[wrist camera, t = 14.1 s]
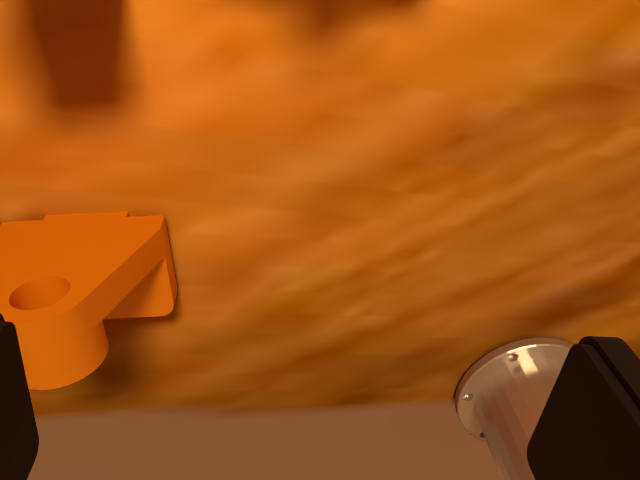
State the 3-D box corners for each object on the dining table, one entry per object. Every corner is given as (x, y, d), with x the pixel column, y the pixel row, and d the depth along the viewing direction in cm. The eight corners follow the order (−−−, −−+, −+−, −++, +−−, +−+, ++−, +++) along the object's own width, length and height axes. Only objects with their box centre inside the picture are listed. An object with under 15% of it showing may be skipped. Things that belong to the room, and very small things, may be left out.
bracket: (36, 300, 42) (-40, 428, 32) (7, 215, 38) (-89, 329, 28) (180, 293, 43) (151, 416, 32) (166, 209, 39) (128, 318, 29)
